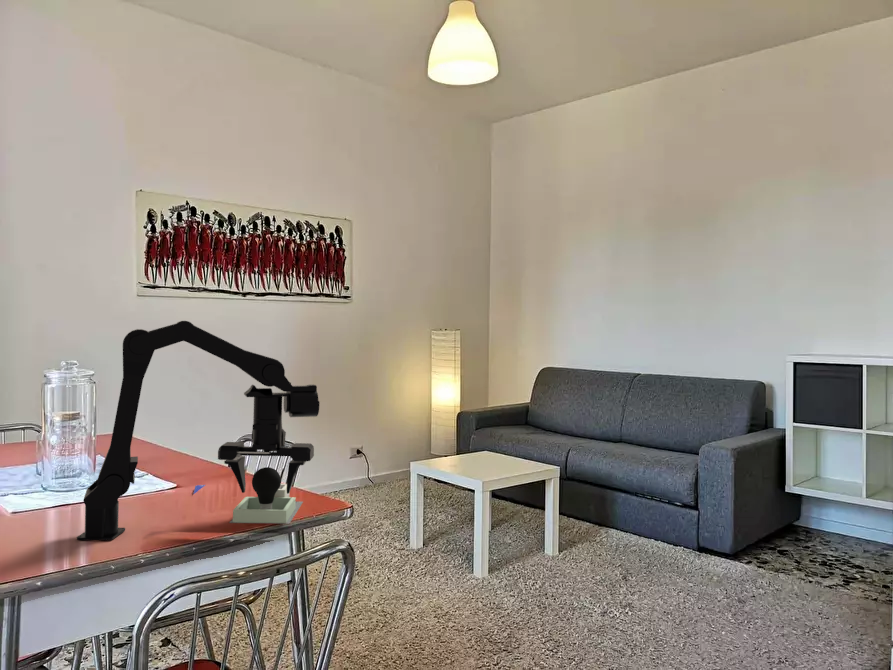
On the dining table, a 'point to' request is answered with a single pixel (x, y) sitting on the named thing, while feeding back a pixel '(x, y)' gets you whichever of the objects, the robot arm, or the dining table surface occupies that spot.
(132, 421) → the robot arm
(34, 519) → the dining table surface
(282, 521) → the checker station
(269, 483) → the light bulb
